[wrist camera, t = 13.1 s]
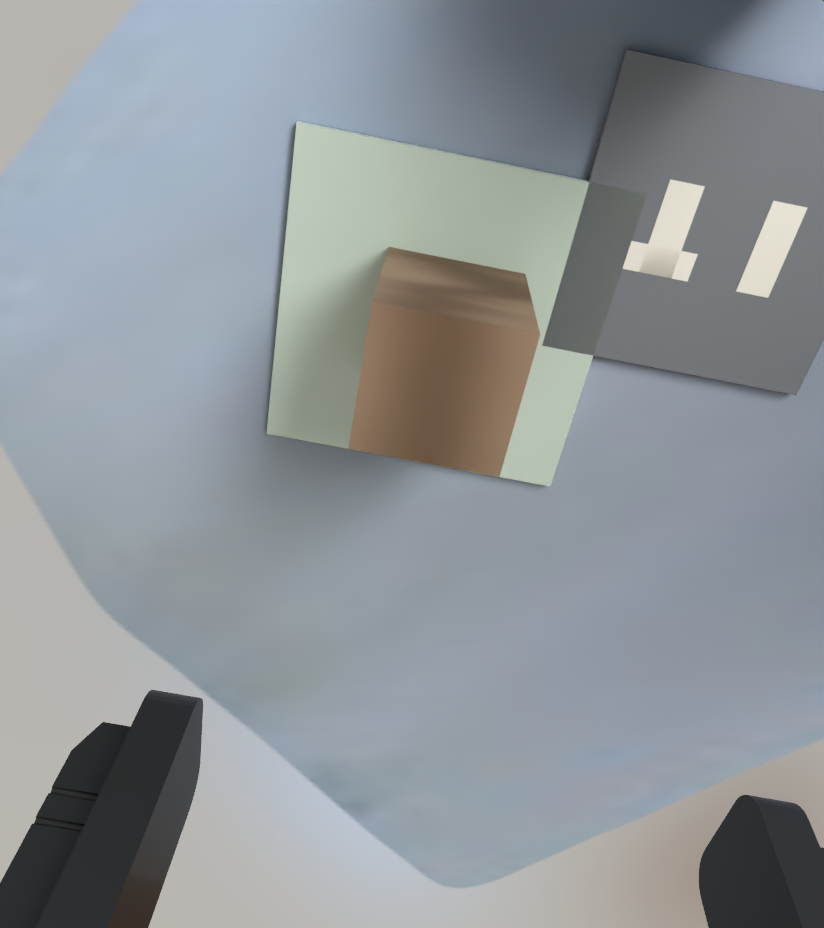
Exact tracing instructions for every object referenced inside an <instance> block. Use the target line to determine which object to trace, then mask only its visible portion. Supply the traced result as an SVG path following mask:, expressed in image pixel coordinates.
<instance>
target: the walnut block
mask: <svg viewBox="0 0 824 928" xmlns="http://www.w3.org/2000/svg"><path fill="white" fill-rule="evenodd" d="M539 337H540V331H539V327H538V323H537V319H536V315H535V311H534V307H533V303H532V299H531V295H530V291H529V286H528V282H527V278H526V274H523V273H518V272H513V271H508V270H503V269H498V268H493V267H488V266H483V265H478V264H473V263H468V262H463V261H458V260H453V259H448V258H443V257H438V256H433V255H428V254H423V253H418V252H413V251H408V250H403V249H398V248H393V247H389V248H388V251H387V254H386V258H385V261H384V264H383V267H382V271H381V274H380V277H379V281H378V284H377V287H376V290H375V294H374V297H373V300H372V305H371V311H370V318H369V324H368V330H367V336H366V342H365V348H364V355H363V361H362V367H361V373H360V379H359V385H358V392H357V398H356V404H355V410H354V416H353V423H352V429H351V435H350V441H349V447H348V449H353V450H358V451H363V452H369V453H374V454H379V455H385V456H390V457H395V458H401V459H406V460H412V461H417V462H422V463H428V464H433V465H438V466H444V467H449V468H454V469H460V470H465V471H471V472H476V473H481V474H487V475H492V476H497V477H500V473H501V470H502V466H503V463H504V459H505V456H506V452H507V449H508V446H509V442H510V439H511V435H512V432H513V428H514V425H515V421H516V418H517V414H518V411H519V407H520V404H521V400H522V397H523V393H524V390H525V386H526V383H527V379H528V376H529V372H530V369H531V365H532V362H533V358H534V355H535V351H536V348H537V344H538V341H539Z"/></svg>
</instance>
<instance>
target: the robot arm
mask: <svg viewBox="0 0 824 928" xmlns="http://www.w3.org/2000/svg"><path fill="white" fill-rule="evenodd" d="M202 714H203V701H202V699H201V698H196V697H191V696H185V695H179V694H173V693H168V692H162V691H155V690H151V691H149V693H148V694H147V695H146V697H145V699H144V700H143V702H142V705H141V707H140V709H139V711H138V713H137V715H136V717H135V719H134V721H133V724H132V726H131V727H128V726H123V725H117V724H111V723H105V722H103V723H101V724H100V725H99V726H98V727H97V728H96V729H95V730H94V731H93V732H92V733H91V734H89V735H88V736H87V737H86V738H85V739H84V740H83V741H82V742H81V743H79V744H78V745H77V746H76V747H75V748H74V749H73V750H72V751H71V753H70V755H69V756H68V758H67V760H66V762H65V764H64V766H63V767H62V769H61V771H60V773H59V775H58V777H57V779H56V780H55V782H54V784H53V786H52V791H51V793H50V794H48V796H47V797H46V799H45V801H44V803H43V805H42V806H41V808H40V810H39V812H38V814H37V816H36V820H35V823H34V824H32V825H31V827H30V829H29V831H28V832H27V834H26V836H25V838H24V840H23V842H22V844H21V846H20V847H19V849H18V851H17V853H16V855H15V857H14V859H13V860H12V862H11V864H10V866H9V868H8V870H7V872H6V874H5V876H4V877H3V879H2V881H1V883H0V928H148V926H149V923H150V920H151V918H152V915H153V912H154V909H155V906H156V904H157V901H158V898H159V895H160V892H161V889H162V886H163V883H164V881H165V878H166V875H167V872H168V869H169V866H170V864H171V861H172V858H173V855H174V852H175V849H176V847H177V844H178V840H179V838H180V835H181V832H182V829H183V826H184V824H185V821H186V818H187V815H188V812H189V809H190V806H191V803H192V800H193V796H194V792H195V789H196V784H197V780H198V773H199V768H200V753H201V734H202ZM699 888H700V895H701V899H702V903H703V907H704V911H705V915H706V918H707V922H708V926H709V928H824V848H820V846H819V844H818V841H817V839H816V837H815V834H814V832H813V829H812V827H811V825H810V822H809V820H808V818H807V816H806V814H805V812H804V811H803V810H802V809H801V807H800V806H798V805H797V804H794V803H789V802H783V801H778V800H773V799H766V798H761V797H755V796H749V795H743V796H740V797H739V798H738V799H737V800H736V802H735V803H734V805H733V806H732V808H731V810H730V811H729V813H728V814H727V816H726V818H725V819H724V821H723V822H722V824H721V825H720V827H719V828H718V830H717V832H716V833H715V835H714V836H713V838H712V840H711V841H710V843H709V844H708V846H707V847H706V849H705V851H704V853H703V855H702V858H701V862H700V868H699Z"/></svg>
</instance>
